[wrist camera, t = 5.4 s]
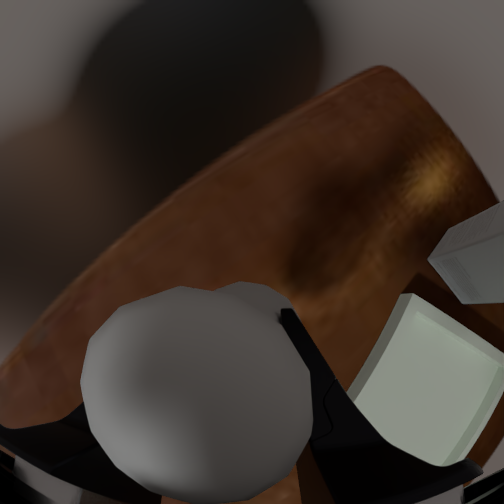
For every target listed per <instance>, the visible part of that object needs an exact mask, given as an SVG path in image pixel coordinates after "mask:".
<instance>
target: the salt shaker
mask: <svg viewBox="0 0 504 504" xmlns="http://www.w3.org/2000/svg"><path fill="white" fill-rule="evenodd" d="M281 308H292V309H293V310H294V308H293V306H292V304H291V303H290V301H289V299H288V298H286V297H284V296H283V295H281V294H279V293H278V292H276V291H274V290H273V289H271V288H270V287H268V286H266V285H261V284H254V283H247V282H241V281H240V282H237V283H234V284H231V285H228V286H225V287H222V288H219V289H216V290H215V291H207V290H201V289H195V288H189V287H183V286H178V287H175V288H172V289H170V290H167V291H164V292H161V293H158V294H155V295H152V296H149V297H146V298H143V299H140V300H137V301H134V302H132V303H129V304H126V305H123V306H120V307H119V308H118V309H117V310H116V311H115V312H114V313H113V314H112V316H111V317H110V318H109V319H108V320H107V321H106V322H105V323H104V324H103V325H102V326H101V327H100V328H99V330H98V331H97V332H96V333H95V334H94V335H93V336H92V337H91V338H90V340H89V344H88V348H87V352H86V357H85V361H84V366H83V371H82V375H81V381H80V383H81V389H82V394H83V400H84V404H85V409H86V414H87V418H88V422H89V426H90V429H91V432H92V433H93V435H94V436H95V438H96V439H97V441H98V442H99V444H100V445H101V447H102V448H103V450H104V451H105V452H106V454H107V455H108V457H109V458H110V459H111V461H112V462H113V463H114V465H115V466H116V467H117V468H119V469H120V470H121V471H123V472H124V473H125V474H127V475H128V476H129V477H131V478H132V479H133V480H135V481H136V482H137V483H139V484H140V485H142V486H143V487H145V488H146V489H148V490H149V491H151V492H153V493H157V494H160V495H163V496H166V497H170V498H173V499H177V500H181V501H185V502H189V503H193V504H219V503H229V502H238V501H245V500H250V499H251V498H253V497H255V496H257V495H258V494H260V493H262V492H263V491H265V490H267V489H268V488H270V487H271V486H273V485H275V484H276V483H278V482H279V481H281V480H282V479H284V478H285V477H287V476H288V475H289V473H290V471H291V470H292V468H293V466H294V465H295V463H296V461H297V460H298V458H299V456H300V454H301V453H302V451H303V449H304V447H305V445H306V444H307V442H308V440H309V438H310V436H311V432H312V425H313V411H312V396H311V383H310V371H309V370H308V368H307V366H306V365H305V363H304V361H303V360H302V358H301V357H300V355H299V353H298V352H297V350H296V348H295V347H294V345H293V343H292V342H291V340H290V338H289V337H288V335H287V333H286V332H285V330H284V328H283V327H282V325H281V322H280V310H281ZM294 312H295V313H296V311H295V310H294ZM296 315H297V313H296ZM297 316H298V315H297ZM298 318H299V316H298ZM299 319H300V318H299ZM300 321H301V320H300ZM301 323H302V322H301Z"/></svg>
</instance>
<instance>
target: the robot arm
mask: <svg viewBox="0 0 504 504" xmlns="http://www.w3.org/2000/svg"><path fill="white" fill-rule="evenodd" d="M280 322H281V325H282V327H283V328H284V330H285V332H286V333H287V335H288V337H289V338H290V340H291V342H292V343H293V345H294V347H295V348H296V350H297V352H298V353H299V355H300V357H301V358H302V360H303V361H304V363H305V365H306V366H307V368H308V370H309V371H310V383H311V396H312V411H313V425H312V432H311V436H310V438H309V440H308V442H307V444H306V445H305V447H304V449H303V451H302V453H301V454H300V456H299V458H298V460H297V461H296V466H297V471H298V472H297V473H298V480H299V487H300V494H301V501H302V504H504V468H503V469H501V470H499V471H497V472H495V473H493V474H491V475H489V476H487V477H485V478H483V479H481V480H479V481H477V482H475V483H473V484H471V485H468V486H466V487H464V488H463V484H464V483H466V482H468V481H470V480H472V479H474V478H476V477H478V476H480V475H481V474H483V470H482V469H481V467H480V466H479V465H478V464H477V463H475V462H474V461H473V460H471V459H470V458H466V459H463V460H461V461H458V462H456V463H454V464H451V465H448V466H436V465H433V464H430V463H428V462H426V461H424V460H422V459H419V458H417V457H415V456H413V455H411V454H409V453H407V452H405V451H403V450H401V449H400V448H398V447H396V446H394V445H392V444H391V443H389V442H388V441H387V440H386V439H384V438H383V437H382V436H381V435H380V433H379V432H378V431H377V430H376V429H375V428H374V427H373V425H372V424H371V423H370V422H369V421H368V420H367V418H366V417H365V416H364V415H363V414H362V413H361V411H360V410H359V409H358V408H357V406H356V405H355V404H354V403H353V401H352V400H351V399H350V398H349V396H348V395H347V393H346V392H345V390H344V389H343V387H342V386H341V384H340V383H339V381H338V379H336V376H335V375H334V373H333V372H332V370H331V368H330V367H329V365H328V364H327V362H326V361H325V359H324V357H323V356H322V354H321V353H320V351H319V349H318V348H317V346H316V345H315V343H314V342H313V340H312V338H311V337H310V335H309V334H308V332H307V330H306V329H305V327H304V326H303V324H302V323H301V321H300V319H299V318H298V316H297V315H296V313H295V312H294V310H293V309H292V308H281V310H280ZM0 445H2V446H3V447H5V448H6V449H8V450H9V451H11V452H12V453H14V454H15V455H16V458H13V457H11V456H10V455H8V454H6V453H5V452H3V451H1V450H0V504H161V499H162V495H160V494H157V493H153V492H151V491H149V490H148V489H146V488H145V487H143V486H142V485H140V484H139V483H137V482H136V481H135V480H133V479H132V478H131V477H129V476H128V475H127V474H125V473H124V472H123V471H121V470H120V469H119V468H117V467H116V466H115V465H114V463H113V462H112V461H111V459H110V458H109V457H108V455H107V454H106V452H105V451H104V450H103V448H102V447H101V445H100V444H99V442H98V441H97V439H96V438H95V436H94V435H93V433H92V432H91V429H90V426H89V422H88V418H87V414H86V409H85V404H84V402H82V403H81V404H80V405H79V406H78V407H77V408H76V409H75V410H73V411H72V412H71V413H70V414H69V415H67V416H66V417H64V418H63V419H61V420H58V421H55V422H50V423H45V424H41V425H35V426H30V427H24V428H18V429H10V428H6V427H4V426H3V425H1V424H0Z"/></svg>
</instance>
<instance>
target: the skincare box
mask: <svg viewBox="0 0 504 504" xmlns="http://www.w3.org/2000/svg"><path fill="white" fill-rule="evenodd" d="M427 260H428V262H429V263H430V264H431V265H432V266H433V267H434V269H435V270H436V271H437V272H438V273H439V275H440V276H441V277H442V278H443V280H444V281H445V282H446V283H447V285H448V286H449V287H450V289H451V290H452V291H453V292H454V294H455V295H456V296H457V298H458V299H459V300H460V302H461V303H462V304H481V303H504V200H503V201H502V202H500V203H498V204H496V205H494V206H492V207H490V208H488V209H487V210H485V211H483V212H481V213H479V214H477V215H475V216H473V217H471V218H469V219H467V220H465V221H463V222H461V223H459V224H457V225H455V226H453V227H451V228H449V229H448V231H447V232H446V233H445V235H444V236H443V238H442V239H441V240H440V242H439V243H438V245H437V246H436V248H435V249H434V250H433V252H432V253H431V254H430V256H429V257H428V259H427Z"/></svg>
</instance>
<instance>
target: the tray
mask: <svg viewBox="0 0 504 504" xmlns="http://www.w3.org/2000/svg"><path fill="white" fill-rule="evenodd" d="M503 392H504V353H502V352H501V351H499V350H498V349H497V348H495V347H494V346H492V345H491V344H489V343H488V342H487V341H485V340H484V339H482V338H481V337H479V336H478V335H476V334H475V333H474V332H472V331H471V330H469V329H468V328H466V327H465V326H463V325H462V324H460V323H459V322H457V321H456V320H454V319H453V318H451V317H450V316H448V315H447V314H445V313H443V312H442V311H440V310H439V309H437V308H436V307H434V306H433V305H431V304H430V303H428V302H426V301H425V300H423V299H422V298H420V297H418V296H417V295H415V294H414V293H409V294H400V296H399V298H398V300H397V303H396V305H395V307H394V309H393V311H392V313H391V315H390V317H389V319H388V321H387V323H386V325H385V327H384V329H383V331H382V333H381V335H380V337H379V338H378V340H377V342H376V344H375V346H374V348H373V349H372V351H371V353H370V355H369V356H368V358H367V360H366V362H365V363H364V365H363V367H362V368H361V370H360V372H359V373H358V375H357V377H356V378H355V380H354V382H353V383H352V385H351V386H350V388H349V389H348V391H347V395H348V396H349V398H350V399H351V400H352V401H353V403H354V404H355V405H356V406H357V408H358V409H359V410H360V411H361V413H362V414H363V415H364V416H365V417H366V418H367V420H368V421H369V422H370V423H371V424H372V425H373V427H374V428H375V429H376V430H377V431H378V432H379V433H380V435H381V436H382V437H383V438H384V439H386V440H387V441H388V442H389V443H391V444H392V445H394V446H396V447H398V448H400V449H401V450H403V451H405V452H407V453H409V454H411V455H413V456H415V457H417V458H419V459H422V460H424V461H426V462H428V463H430V464H433V465H436V466H448V465H451V464H454V463H456V462H458V461H461V460H463V459H464V458H465V457H466V455H467V454H468V452H469V451H470V449H471V448H472V446H473V445H474V443H475V442H476V440H477V439H478V437H479V435H480V434H481V432H482V431H483V429H484V427H485V425H486V424H487V422H488V420H489V418H490V417H491V415H492V413H493V411H494V409H495V407H496V406H497V404H498V402H499V400H500V398H501V396H502V394H503Z"/></svg>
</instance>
